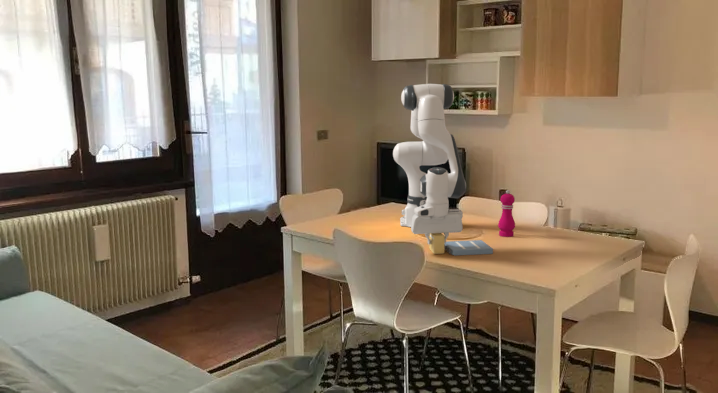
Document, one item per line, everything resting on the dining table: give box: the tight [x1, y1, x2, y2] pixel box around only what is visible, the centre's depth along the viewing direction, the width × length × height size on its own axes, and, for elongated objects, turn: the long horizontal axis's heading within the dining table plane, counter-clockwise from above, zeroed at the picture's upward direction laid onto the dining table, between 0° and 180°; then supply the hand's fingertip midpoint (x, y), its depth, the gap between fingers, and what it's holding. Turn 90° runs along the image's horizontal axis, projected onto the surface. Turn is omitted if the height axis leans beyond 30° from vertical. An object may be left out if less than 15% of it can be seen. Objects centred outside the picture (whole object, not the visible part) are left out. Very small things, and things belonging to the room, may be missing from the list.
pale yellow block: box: [428, 233, 445, 255], centre depth 262 cm, size 8×4×7 cm, turn 8°
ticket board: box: [444, 239, 494, 256], centre depth 264 cm, size 14×17×2 cm
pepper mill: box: [497, 189, 516, 238], centre depth 286 cm, size 7×7×20 cm
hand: (436, 243), depth 262 cm, fingers closed on pale yellow block, 4 cm apart
